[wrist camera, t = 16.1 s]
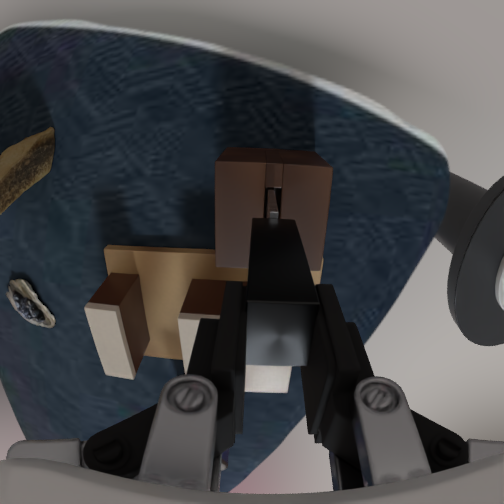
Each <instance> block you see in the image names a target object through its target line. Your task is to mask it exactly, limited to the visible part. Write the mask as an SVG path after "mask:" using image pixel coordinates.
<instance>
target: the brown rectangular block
mask: <svg viewBox="0 0 504 504" xmlns="http://www.w3.org/2000/svg"><path fill="white" fill-rule="evenodd" d="M84 309H85V312H86V316H87V319H88V322H89V326H90V329H91V332H92V336H93V339H94V342H95V345H96V348H97V351H98V354H99V357H100V360H101V363H102V365H103V368H104V371H105V374H106V375H110V376H116V377H121V378H127V379H133V380H134V378H135V375H136V373H137V370H138V368H139V365H140V363H141V360H142V358H143V355H144V353H145V351H146V348H147V346H148V343H149V341H150V336H149V331H148V326H147V321H146V315H145V309H144V304H143V298H142V291H141V285H140V278H139V274H126V273H113V272H111V273H110V274H109V276H108V277H107V278H106V280H105V281H104V282H103V283H102V285H101V286H100V287H99V289H98V290H97V291H96V292H95V294H94V295H93V296H92V298H91V299H90V300H89V302H88V303H87V304H86V306H85V307H84Z"/></svg>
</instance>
